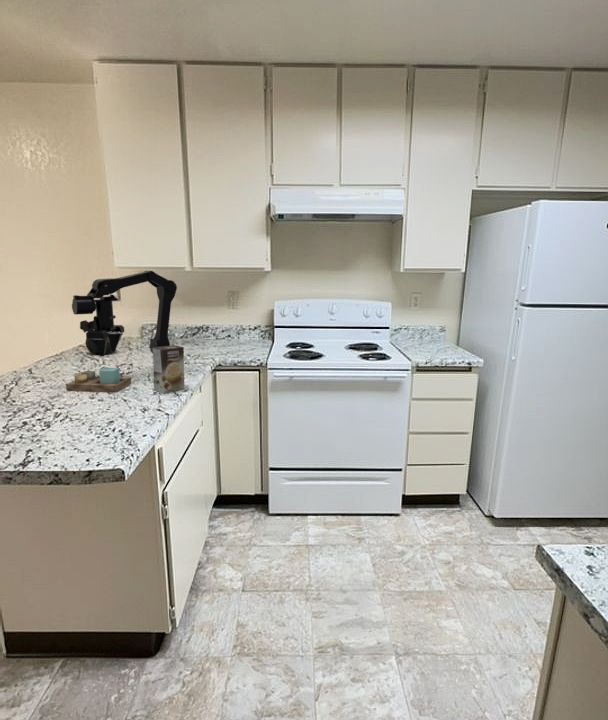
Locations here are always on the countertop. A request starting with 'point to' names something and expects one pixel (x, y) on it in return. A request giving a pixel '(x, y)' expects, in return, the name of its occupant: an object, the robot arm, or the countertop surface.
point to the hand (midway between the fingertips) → (107, 353)
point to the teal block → (109, 376)
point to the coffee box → (168, 368)
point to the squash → (93, 348)
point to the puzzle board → (95, 383)
